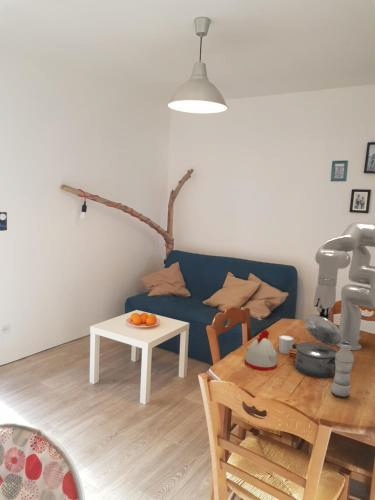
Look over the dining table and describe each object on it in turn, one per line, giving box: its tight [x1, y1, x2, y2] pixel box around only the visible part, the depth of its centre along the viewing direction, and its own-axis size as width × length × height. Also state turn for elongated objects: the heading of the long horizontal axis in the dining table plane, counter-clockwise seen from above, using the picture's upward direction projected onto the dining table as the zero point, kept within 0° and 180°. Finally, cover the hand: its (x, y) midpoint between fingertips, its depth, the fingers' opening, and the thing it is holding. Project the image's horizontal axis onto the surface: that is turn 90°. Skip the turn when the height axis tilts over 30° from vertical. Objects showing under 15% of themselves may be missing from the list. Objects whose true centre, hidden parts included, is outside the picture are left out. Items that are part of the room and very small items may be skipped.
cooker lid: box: [304, 314, 342, 346], centre depth 166 cm, size 16×16×3 cm
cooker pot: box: [292, 341, 338, 379], centre depth 163 cm, size 17×25×9 cm, turn 41°
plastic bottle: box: [330, 342, 355, 398], centre depth 142 cm, size 6×7×20 cm
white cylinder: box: [278, 334, 295, 355], centre depth 182 cm, size 7×7×7 cm
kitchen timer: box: [244, 329, 278, 372], centre depth 167 cm, size 14×14×15 cm
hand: (323, 322), depth 165 cm, fingers closed
